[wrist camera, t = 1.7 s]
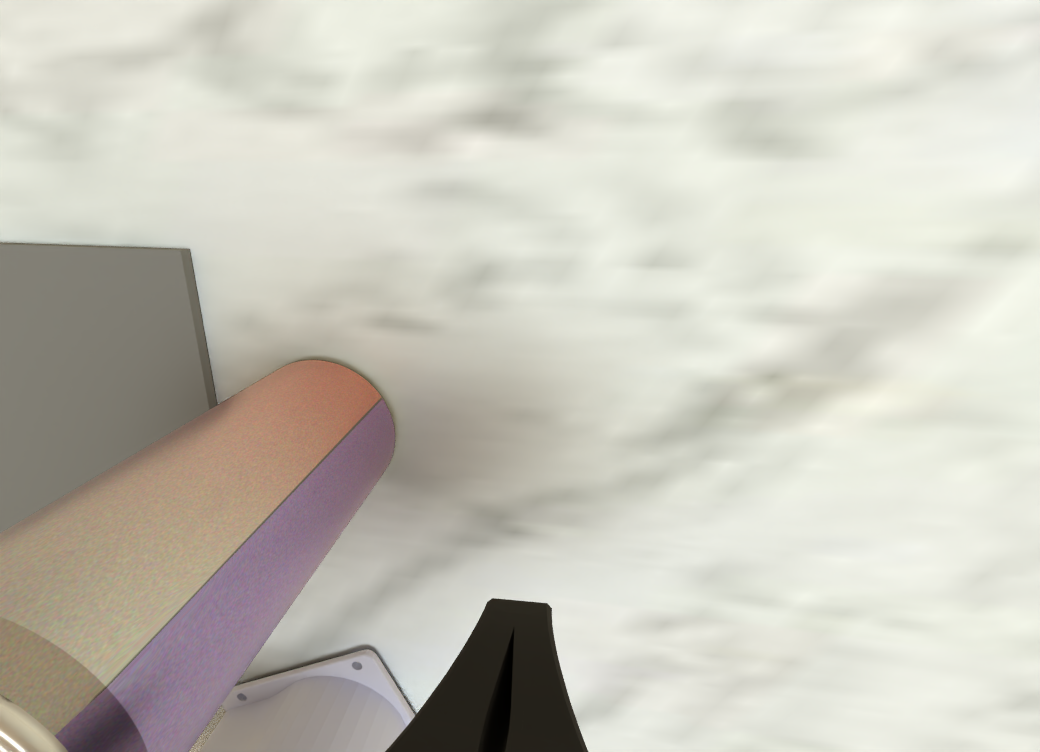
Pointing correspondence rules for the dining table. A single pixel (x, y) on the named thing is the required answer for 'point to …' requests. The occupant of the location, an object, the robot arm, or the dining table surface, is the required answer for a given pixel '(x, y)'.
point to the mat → (92, 363)
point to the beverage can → (180, 564)
